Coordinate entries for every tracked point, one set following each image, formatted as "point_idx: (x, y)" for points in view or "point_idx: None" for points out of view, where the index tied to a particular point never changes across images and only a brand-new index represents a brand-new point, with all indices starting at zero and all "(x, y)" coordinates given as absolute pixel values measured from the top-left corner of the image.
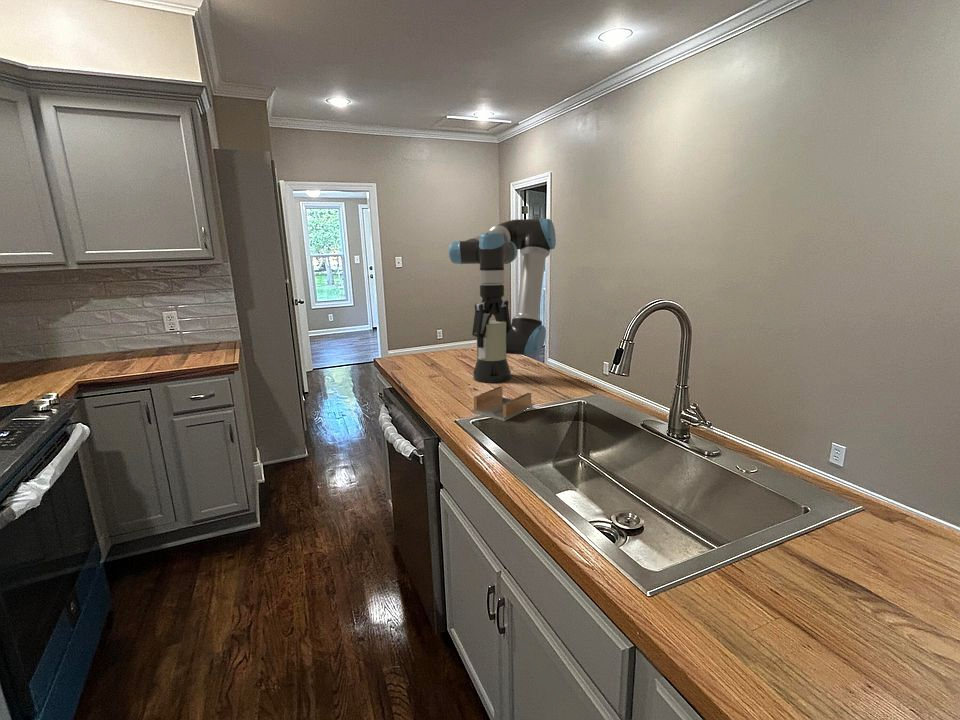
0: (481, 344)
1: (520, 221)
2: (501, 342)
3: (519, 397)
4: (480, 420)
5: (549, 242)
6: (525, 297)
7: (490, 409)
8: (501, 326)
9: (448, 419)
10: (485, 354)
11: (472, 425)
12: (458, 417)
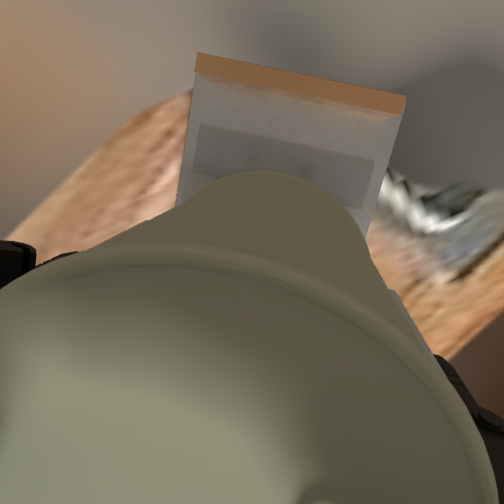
0: (446, 375)
1: None
2: (306, 207)
3: (280, 81)
4: (423, 197)
5: None
6: None
7: (338, 196)
8: (313, 264)
9: (450, 306)
10: (396, 300)
11: (483, 201)
12: (419, 284)
